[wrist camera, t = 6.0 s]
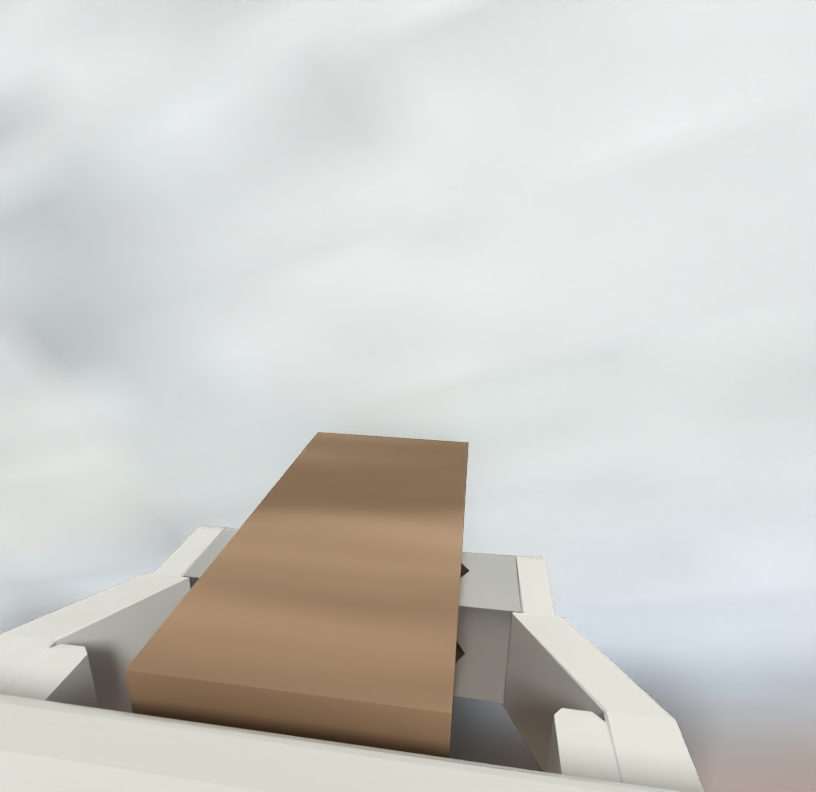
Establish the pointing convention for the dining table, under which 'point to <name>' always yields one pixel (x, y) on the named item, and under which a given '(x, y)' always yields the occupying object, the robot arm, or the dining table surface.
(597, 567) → the dining table surface
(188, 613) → the wood-handled metal tool
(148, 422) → the dining table surface
